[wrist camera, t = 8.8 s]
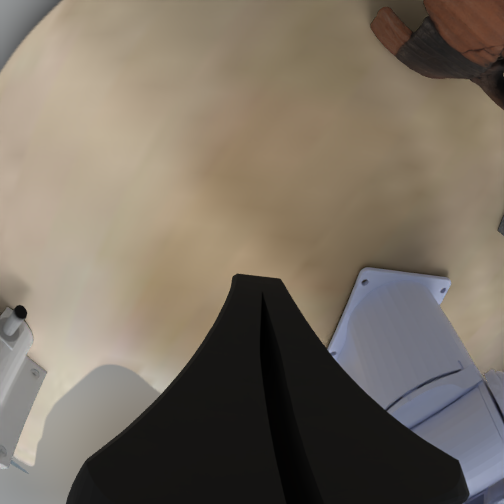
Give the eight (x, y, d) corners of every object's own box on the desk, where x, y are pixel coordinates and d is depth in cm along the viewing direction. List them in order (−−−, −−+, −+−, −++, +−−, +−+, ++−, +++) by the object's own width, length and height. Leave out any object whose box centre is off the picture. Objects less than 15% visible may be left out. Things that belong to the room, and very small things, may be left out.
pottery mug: (317, -1, 13) (385, -107, 5) (396, -34, 14) (456, -98, 6) (465, 166, 15) (587, 137, 6) (507, 94, 16) (588, 62, 7)
